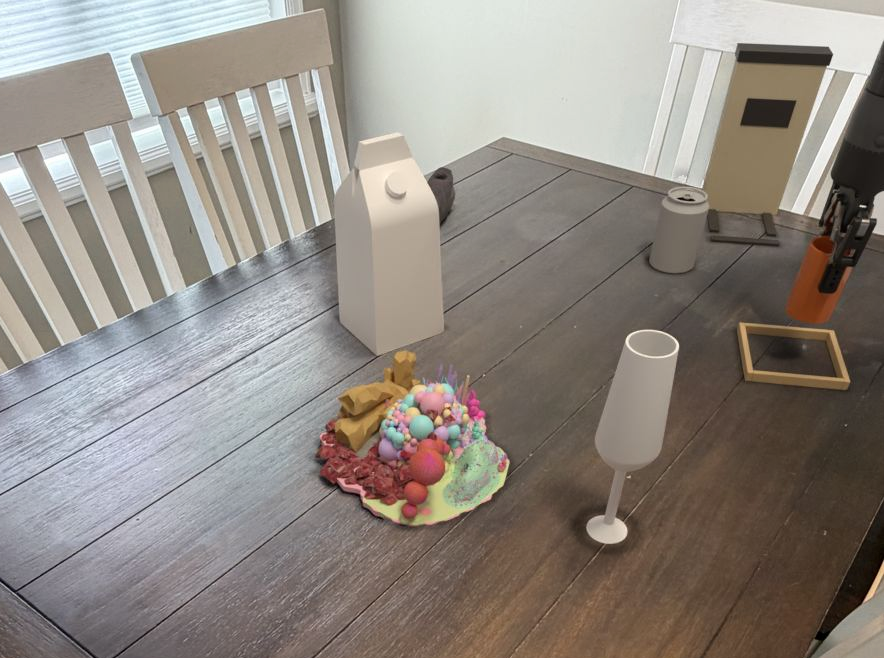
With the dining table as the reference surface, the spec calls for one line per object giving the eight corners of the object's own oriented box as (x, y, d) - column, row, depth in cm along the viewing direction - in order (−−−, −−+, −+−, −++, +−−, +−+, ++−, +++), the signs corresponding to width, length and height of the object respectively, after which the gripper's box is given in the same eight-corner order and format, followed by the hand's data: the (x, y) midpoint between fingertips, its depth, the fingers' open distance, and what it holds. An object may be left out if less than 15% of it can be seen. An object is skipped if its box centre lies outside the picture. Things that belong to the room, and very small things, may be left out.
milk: (404, 300, 118) (398, 116, 98) (444, 332, 112) (445, 142, 92) (339, 322, 114) (318, 134, 94) (376, 356, 108) (363, 162, 88)
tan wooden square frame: (828, 342, 110) (834, 330, 108) (844, 394, 101) (850, 381, 100) (735, 334, 111) (739, 322, 110) (743, 385, 103) (747, 372, 101)
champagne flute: (647, 533, 84) (705, 343, 65) (612, 564, 81) (663, 373, 62) (599, 505, 87) (642, 316, 69) (564, 533, 84) (599, 344, 66)
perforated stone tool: (438, 239, 133) (438, 198, 127) (410, 235, 134) (409, 195, 128) (459, 205, 142) (459, 166, 137) (433, 202, 143) (432, 163, 138)
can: (643, 273, 124) (660, 198, 115) (652, 254, 128) (668, 180, 119) (688, 281, 122) (708, 205, 113) (695, 261, 126) (715, 187, 117)
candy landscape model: (282, 461, 92) (269, 399, 85) (404, 379, 104) (402, 319, 97) (434, 552, 82) (433, 490, 75) (551, 450, 94) (560, 388, 87)
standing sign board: (774, 209, 140) (828, 46, 120) (786, 251, 129) (848, 79, 109) (696, 204, 142) (737, 42, 122) (701, 245, 131) (747, 74, 111)
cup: (827, 303, 102) (855, 237, 95) (834, 325, 98) (864, 258, 91) (782, 299, 102) (807, 233, 96) (787, 321, 99) (814, 254, 92)
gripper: (930, 162, 79) (861, 309, 92) (900, 117, 88) (841, 257, 101) (857, 158, 80) (799, 304, 93) (835, 114, 89) (785, 253, 102)
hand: (821, 279), depth 97 cm, fingers closed on cup, 6 cm apart
